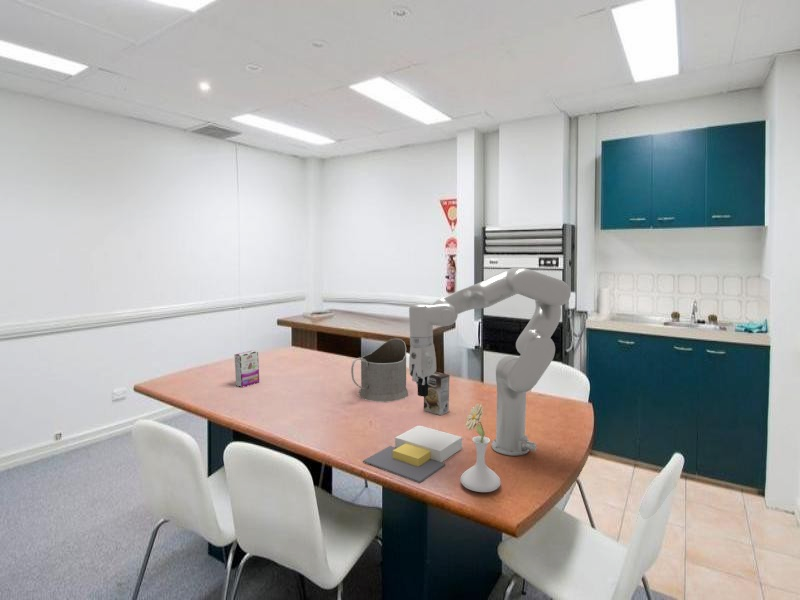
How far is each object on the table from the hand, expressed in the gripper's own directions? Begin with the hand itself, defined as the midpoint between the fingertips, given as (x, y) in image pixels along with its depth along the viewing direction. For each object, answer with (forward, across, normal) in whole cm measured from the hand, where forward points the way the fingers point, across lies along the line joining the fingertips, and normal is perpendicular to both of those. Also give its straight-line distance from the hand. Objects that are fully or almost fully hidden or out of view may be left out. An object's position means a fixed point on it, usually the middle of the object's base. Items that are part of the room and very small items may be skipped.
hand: (423, 395), depth 151 cm
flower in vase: (+20, -11, -26) cm, 34 cm away
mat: (+19, -12, 0) cm, 22 cm away
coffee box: (+20, +36, +17) cm, 45 cm away
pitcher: (+19, +38, +50) cm, 66 cm away
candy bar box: (+17, +15, +116) cm, 118 cm away
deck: (+19, +3, 0) cm, 19 cm away
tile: (+18, -8, 0) cm, 20 cm away
